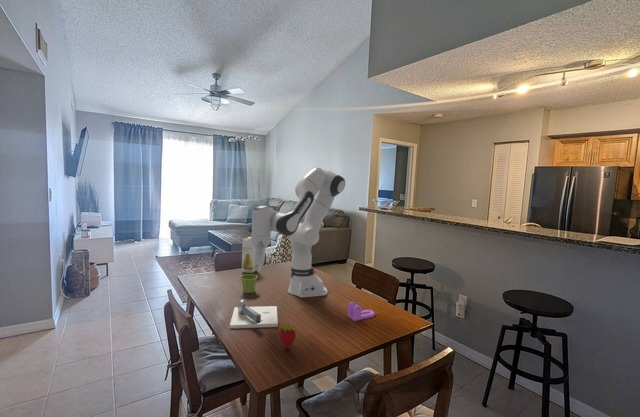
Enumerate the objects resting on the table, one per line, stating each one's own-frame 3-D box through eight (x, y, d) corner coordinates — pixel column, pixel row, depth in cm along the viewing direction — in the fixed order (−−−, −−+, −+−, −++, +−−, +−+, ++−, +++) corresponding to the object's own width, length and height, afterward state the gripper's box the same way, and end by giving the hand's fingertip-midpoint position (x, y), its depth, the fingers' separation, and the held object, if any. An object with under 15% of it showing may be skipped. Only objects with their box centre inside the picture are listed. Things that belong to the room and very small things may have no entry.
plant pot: (236, 292, 165) (237, 277, 165) (246, 287, 174) (247, 273, 173) (250, 296, 162) (251, 280, 161) (260, 290, 171) (261, 275, 170)
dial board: (276, 309, 147) (276, 305, 147) (277, 326, 129) (277, 323, 129) (234, 310, 143) (234, 306, 143) (229, 328, 126) (229, 324, 126)
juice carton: (240, 272, 201) (241, 237, 199) (245, 269, 209) (246, 235, 207) (253, 273, 200) (254, 238, 198) (258, 270, 207) (259, 236, 205)
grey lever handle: (236, 312, 137) (236, 300, 137) (243, 310, 140) (244, 298, 139) (255, 326, 124) (255, 313, 124) (263, 324, 127) (263, 311, 126)
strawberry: (288, 341, 118) (289, 317, 117) (298, 350, 112) (299, 325, 111) (275, 345, 114) (276, 320, 113) (284, 355, 108) (285, 329, 107)
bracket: (354, 321, 138) (355, 306, 138) (347, 316, 143) (348, 302, 142) (376, 316, 144) (377, 302, 144) (369, 311, 149) (370, 298, 149)
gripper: (267, 244, 132) (266, 275, 133) (267, 236, 152) (267, 262, 153) (252, 244, 131) (252, 275, 132) (255, 235, 151) (254, 262, 152)
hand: (260, 268), depth 143 cm, fingers open, 8 cm apart
